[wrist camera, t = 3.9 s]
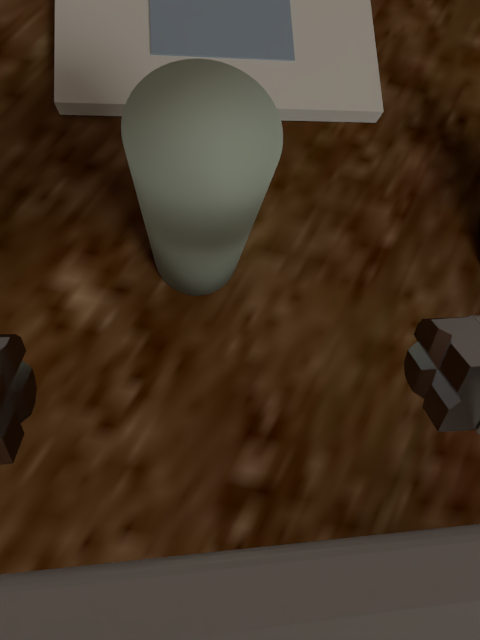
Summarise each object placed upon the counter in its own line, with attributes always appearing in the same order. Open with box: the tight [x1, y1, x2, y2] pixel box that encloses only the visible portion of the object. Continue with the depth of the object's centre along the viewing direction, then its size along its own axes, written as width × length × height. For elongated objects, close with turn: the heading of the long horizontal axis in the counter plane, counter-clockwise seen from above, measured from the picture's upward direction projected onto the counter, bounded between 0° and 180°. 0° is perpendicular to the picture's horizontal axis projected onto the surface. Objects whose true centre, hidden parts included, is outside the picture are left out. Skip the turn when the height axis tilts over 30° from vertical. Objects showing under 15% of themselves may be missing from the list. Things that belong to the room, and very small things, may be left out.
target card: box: [54, 0, 384, 123], centre depth 24 cm, size 18×14×1 cm
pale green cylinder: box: [121, 59, 283, 296], centre depth 17 cm, size 4×4×11 cm
